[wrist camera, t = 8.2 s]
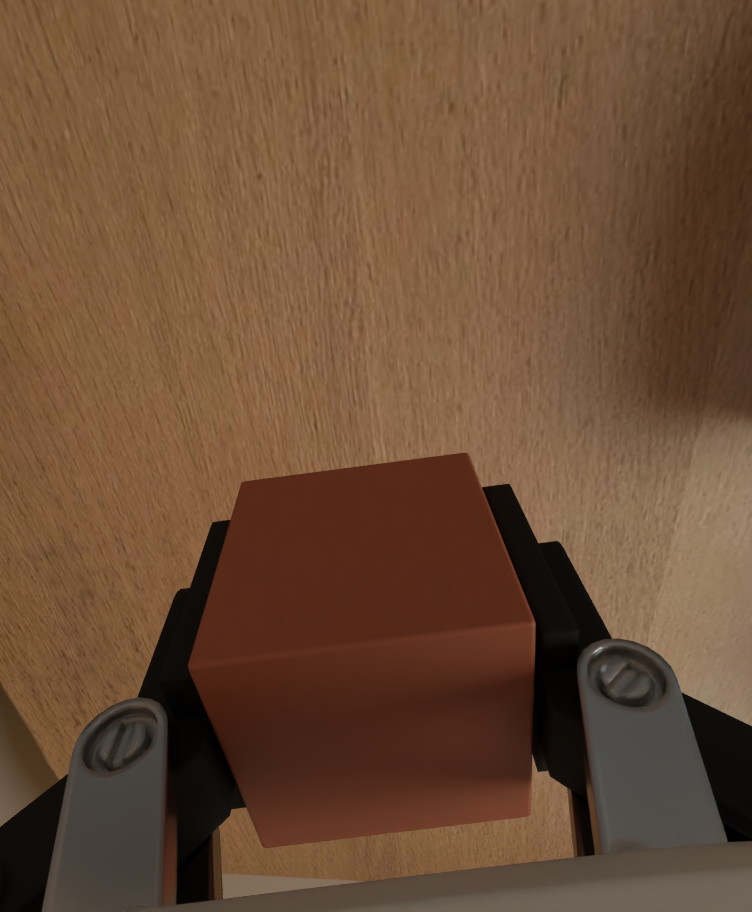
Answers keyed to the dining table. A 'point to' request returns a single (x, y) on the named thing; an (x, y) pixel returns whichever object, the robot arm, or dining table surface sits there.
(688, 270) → the dining table surface
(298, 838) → the block
